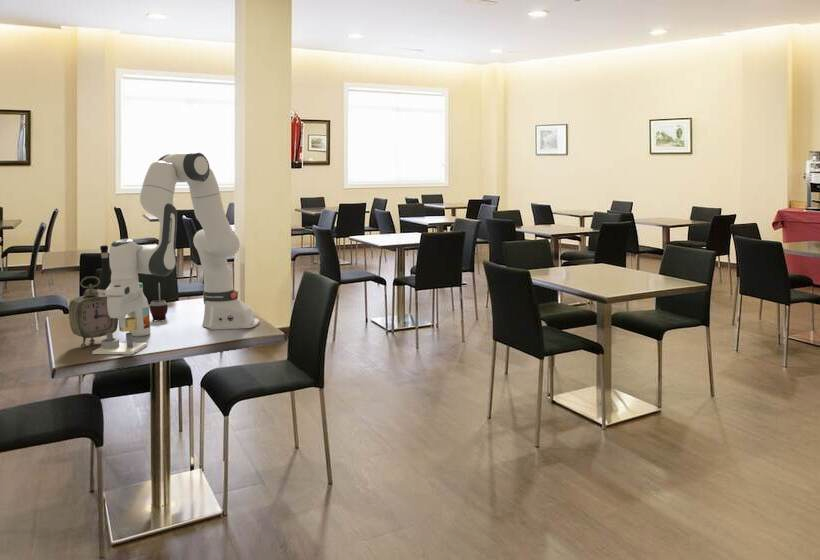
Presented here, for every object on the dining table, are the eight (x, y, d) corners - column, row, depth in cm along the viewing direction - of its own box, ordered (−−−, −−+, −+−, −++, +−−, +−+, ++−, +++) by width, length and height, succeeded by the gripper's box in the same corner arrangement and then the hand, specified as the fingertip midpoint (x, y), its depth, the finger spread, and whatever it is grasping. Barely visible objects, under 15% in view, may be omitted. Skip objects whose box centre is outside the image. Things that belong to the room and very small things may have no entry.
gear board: (147, 346, 252) (145, 329, 251) (132, 355, 240) (131, 337, 239) (109, 345, 253) (107, 329, 252) (92, 354, 241) (91, 337, 240)
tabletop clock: (80, 350, 247) (74, 280, 243) (69, 345, 253) (63, 277, 249) (120, 342, 258) (114, 275, 254) (108, 338, 264) (103, 272, 260)
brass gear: (124, 327, 248) (123, 316, 247) (139, 328, 248) (138, 316, 247) (117, 331, 243) (116, 320, 242) (132, 331, 242) (131, 320, 242)
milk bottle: (137, 337, 264) (134, 285, 261) (124, 335, 268) (120, 283, 265) (155, 333, 270) (151, 282, 267) (142, 331, 275) (138, 280, 271)
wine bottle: (114, 315, 303) (109, 246, 298) (96, 315, 303) (90, 246, 298) (122, 311, 311) (117, 244, 306) (104, 311, 311) (99, 244, 306)
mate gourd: (156, 322, 290) (154, 286, 287) (146, 319, 294) (143, 284, 292) (172, 319, 296) (170, 284, 293) (161, 316, 300) (159, 282, 298)
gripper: (129, 281, 253) (132, 318, 255) (102, 291, 233) (105, 332, 235) (146, 281, 253) (149, 318, 255) (121, 291, 232) (124, 332, 235)
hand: (128, 325), depth 245 cm, fingers closed on brass gear, 5 cm apart
